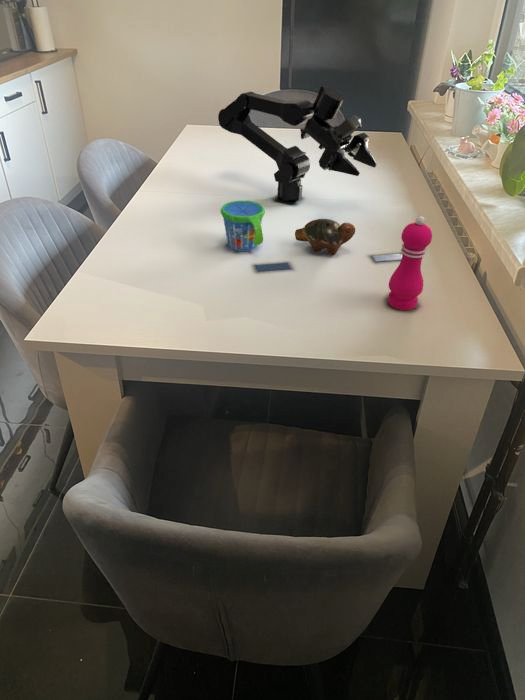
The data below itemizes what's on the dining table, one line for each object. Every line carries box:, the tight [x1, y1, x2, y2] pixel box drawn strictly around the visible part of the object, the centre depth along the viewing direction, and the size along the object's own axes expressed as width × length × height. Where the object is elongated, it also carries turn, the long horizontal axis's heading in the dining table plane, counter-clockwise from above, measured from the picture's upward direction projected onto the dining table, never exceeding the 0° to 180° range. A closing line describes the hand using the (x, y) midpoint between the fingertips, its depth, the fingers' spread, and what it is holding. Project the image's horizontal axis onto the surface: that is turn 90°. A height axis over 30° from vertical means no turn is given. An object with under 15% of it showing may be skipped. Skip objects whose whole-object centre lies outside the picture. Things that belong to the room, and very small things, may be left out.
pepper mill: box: [387, 215, 433, 311], centre depth 113 cm, size 7×7×20 cm
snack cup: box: [220, 200, 266, 252], centre depth 136 cm, size 16×10×10 cm
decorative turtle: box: [294, 218, 356, 256], centre depth 137 cm, size 10×15×8 cm, turn 80°
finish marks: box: [255, 253, 402, 273], centre depth 133 cm, size 3×38×1 cm, turn 103°
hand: (367, 170), depth 144 cm, fingers open, 9 cm apart
